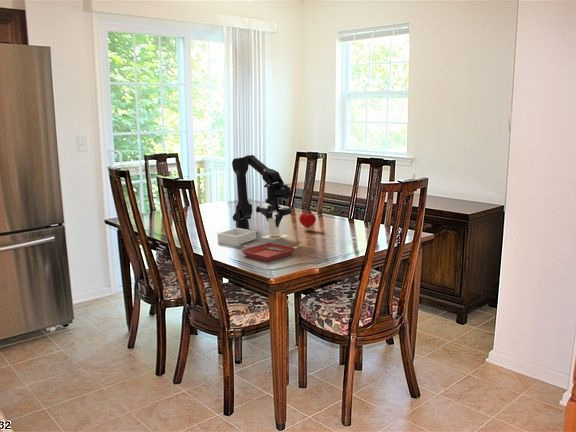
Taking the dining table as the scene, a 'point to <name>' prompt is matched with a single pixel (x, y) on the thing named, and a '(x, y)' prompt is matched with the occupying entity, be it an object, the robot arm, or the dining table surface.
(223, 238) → the grey bin
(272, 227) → the strut
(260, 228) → the dining table surface
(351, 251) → the dining table surface
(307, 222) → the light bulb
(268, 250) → the plant saucer
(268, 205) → the robot arm
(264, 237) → the stud base
